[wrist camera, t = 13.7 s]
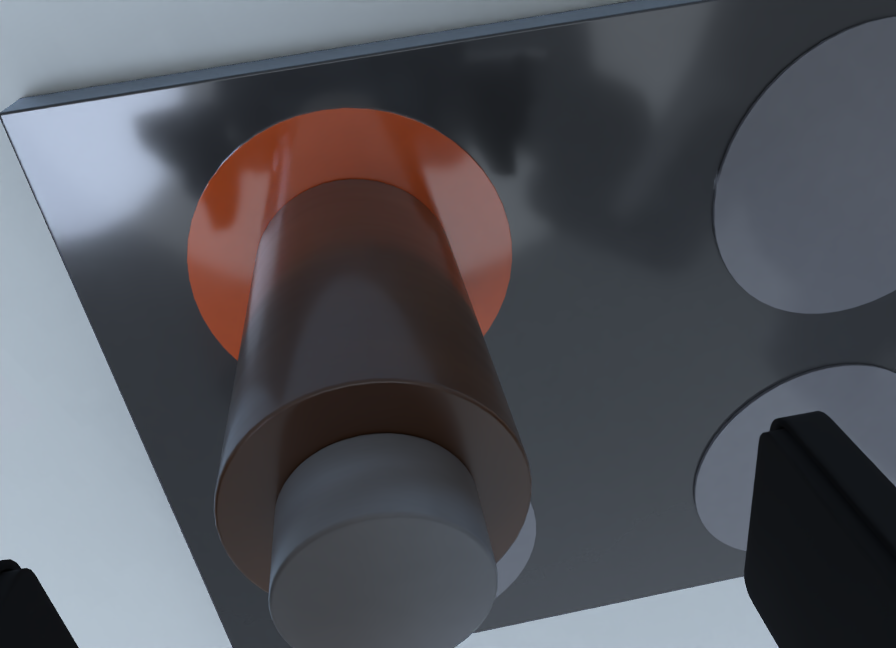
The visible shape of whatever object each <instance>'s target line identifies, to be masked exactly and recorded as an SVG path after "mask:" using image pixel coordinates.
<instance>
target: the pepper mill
mask: <svg viewBox="0 0 896 648" xmlns="http://www.w3.org/2000/svg"><path fill="white" fill-rule="evenodd" d="M531 494H532V477H531V471H530V465H529V461H528V458H527V456H526V453H525V450H524V447H523V445H522V442H521V439H520V436H519V434H518V431H517V428H516V425H515V422H514V420H513V417H512V414H511V411H510V409H509V406H508V403H507V400H506V398H505V395H504V392H503V389H502V387H501V384H500V381H499V378H498V375H497V373H496V370H495V367H494V364H493V362H492V359H491V356H490V353H489V351H488V348H487V345H486V342H485V340H484V337H483V334H482V331H481V328H480V326H479V323H478V320H477V317H476V315H475V312H474V309H473V306H472V304H471V301H470V298H469V295H468V293H467V290H466V287H465V284H464V281H463V279H462V276H461V273H460V270H459V268H458V265H457V262H456V259H455V257H454V254H453V251H452V248H451V246H450V243H449V240H448V237H447V235H446V232H445V231H444V229H443V227H442V225H441V223H440V222H439V221H438V219H437V218H436V216H435V215H434V214H433V213H432V212H431V211H430V210H429V209H428V208H427V207H426V206H425V205H424V204H423V203H422V202H421V201H419V200H418V199H417V198H415V197H414V196H412V195H411V194H409V193H407V192H406V191H404V190H402V189H399V188H397V187H395V186H392V185H389V184H386V183H382V182H379V181H372V180H365V179H346V180H337V181H332V182H328V183H324V184H321V185H318V186H316V187H313V188H310V189H308V190H307V191H305V192H303V193H301V194H299V195H297V196H296V197H295V198H293V199H292V200H290V201H289V202H288V203H287V204H286V205H284V206H283V207H282V208H281V209H280V210H279V211H278V212H277V213H276V215H275V216H274V217H273V218H272V220H271V221H270V222H269V224H268V226H267V228H266V229H265V231H264V233H263V235H262V238H261V240H260V243H259V246H258V250H257V254H256V259H255V265H254V271H253V277H252V282H251V288H250V294H249V299H248V305H247V311H246V317H245V322H244V328H243V334H242V339H241V345H240V351H239V357H238V362H237V368H236V374H235V380H234V385H233V391H232V397H231V402H230V408H229V414H228V420H227V425H226V431H225V437H224V443H223V448H222V454H221V460H220V465H219V471H218V477H217V483H216V488H215V496H214V516H215V525H216V528H217V531H218V534H219V538H220V540H221V543H222V545H223V547H224V548H225V550H226V552H227V554H228V556H229V557H230V559H231V560H232V562H233V563H234V564H235V566H236V567H237V568H238V569H239V570H240V571H241V572H242V573H243V574H244V575H245V576H246V577H247V578H248V579H249V580H250V581H251V582H253V583H254V584H255V585H257V586H258V587H259V588H261V589H262V590H264V591H265V592H267V593H269V597H268V600H269V610H270V614H271V618H272V620H273V622H274V624H275V626H276V628H277V631H278V632H279V633H280V635H281V636H282V637H283V639H284V640H285V641H286V642H287V643H288V644H289V645H290V646H291V647H293V648H454V647H455V646H457V645H458V644H460V643H461V642H463V641H464V640H465V639H466V638H467V637H469V636H470V635H471V634H472V633H473V632H474V631H475V630H476V629H477V628H478V627H479V626H480V625H481V624H482V622H483V621H484V619H485V618H486V617H487V615H488V614H489V612H490V610H491V608H492V606H493V603H494V600H495V597H496V594H497V588H498V571H497V566H496V564H497V563H498V561H499V560H500V559H501V558H502V557H503V556H504V555H505V554H506V552H507V551H508V550H509V549H510V547H511V546H512V544H513V543H514V541H515V540H516V538H517V537H518V535H519V533H520V531H521V529H522V527H523V525H524V522H525V519H526V516H527V513H528V510H529V506H530V500H531Z"/></svg>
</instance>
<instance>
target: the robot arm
mask: <svg viewBox="0 0 896 648" xmlns="http://www.w3.org/2000/svg"><path fill="white" fill-rule="evenodd" d="M744 579H745V584H746V588H747V591H748V594H749V596H750V598H751V600H752V602H753V604H754V606H755V607H756V609H757V611H758V613H759V614H760V616H761V618H762V619H763V621H764V623H765V624H766V626H767V628H768V630H769V631H770V633H771V635H772V636H773V638H774V640H775V642H776V643H777V645H778V647H779V648H896V487H895V486H894V485H893V483H892V482H891V481H890V480H889V479H888V478H887V477H886V476H885V475H884V474H883V473H882V472H881V471H880V470H879V469H878V468H877V466H876V465H875V464H874V463H873V462H872V461H871V460H870V459H869V458H868V457H867V456H866V455H865V454H864V453H863V452H862V451H861V449H860V448H859V447H858V446H857V445H856V444H855V443H854V442H853V441H852V440H851V439H850V438H849V437H848V436H847V435H846V434H845V433H844V431H843V430H842V429H841V428H840V427H839V426H838V425H837V424H836V423H835V422H834V421H833V420H832V419H831V418H830V417H829V416H828V415H827V414H825V413H824V412H821V411H814V412H809V413H803V414H798V415H792V416H787V417H781V418H777V419H774V421H773V422H772V423H771V426H770V430H769V431H768V432H764V433H762V434H761V435H760V438H759V443H758V452H757V461H756V470H755V479H754V488H753V496H752V505H751V514H750V523H749V532H748V541H747V549H746V558H745V567H744ZM0 648H78V646H77V644H76V643H75V641H74V639H73V637H72V636H71V634H70V632H69V631H68V629H67V627H66V626H65V624H64V622H63V621H62V619H61V617H60V616H59V614H58V612H57V611H56V609H55V607H54V606H53V604H52V602H51V601H50V599H49V597H48V596H47V594H46V592H45V591H44V589H43V587H42V585H41V584H40V582H39V580H38V579H37V577H36V575H35V574H34V573H33V572H32V570H30V569H28V568H24V569H21V568H20V566H19V565H18V564H17V563H16V562H15V561H13V560H10V559H9V560H1V561H0Z"/></svg>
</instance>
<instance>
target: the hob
mask: <svg viewBox="0 0 896 648" xmlns="http://www.w3.org/2000/svg"><path fill="white" fill-rule="evenodd" d="M0 119H1V122H2V124H3V126H4V128H5V131H6V133H7V135H8V138H9V140H10V142H11V144H12V147H13V149H14V151H15V153H16V156H17V158H18V160H19V163H20V165H21V167H22V169H23V172H24V174H25V176H26V179H27V181H28V183H29V185H30V188H31V190H32V192H33V194H34V197H35V199H36V201H37V204H38V206H39V208H40V210H41V213H42V215H43V217H44V219H45V222H46V224H47V226H48V229H49V231H50V233H51V235H52V238H53V240H54V242H55V245H56V247H57V249H58V251H59V254H60V256H61V258H62V260H63V263H64V265H65V267H66V270H67V272H68V274H69V276H70V279H71V281H72V283H73V285H74V288H75V290H76V292H77V295H78V297H79V299H80V301H81V304H82V306H83V308H84V310H85V313H86V315H87V317H88V320H89V322H90V324H91V326H92V329H93V331H94V333H95V336H96V338H97V340H98V342H99V345H100V347H101V349H102V351H103V354H104V356H105V358H106V361H107V363H108V365H109V367H110V370H111V372H112V374H113V376H114V379H115V381H116V383H117V386H118V388H119V390H120V392H121V395H122V397H123V399H124V402H125V404H126V406H127V408H128V411H129V413H130V415H131V417H132V420H133V422H134V424H135V427H136V429H137V431H138V433H139V436H140V438H141V440H142V442H143V445H144V447H145V449H146V452H147V454H148V456H149V458H150V461H151V463H152V465H153V468H154V470H155V472H156V474H157V477H158V479H159V481H160V483H161V486H162V488H163V490H164V493H165V495H166V497H167V499H168V502H169V504H170V506H171V508H172V511H173V513H174V515H175V518H176V520H177V522H178V524H179V527H180V529H181V531H182V533H183V536H184V538H185V540H186V543H187V545H188V547H189V549H190V552H191V554H192V556H193V559H194V561H195V563H196V565H197V568H198V570H199V572H200V574H201V577H202V579H203V581H204V584H205V586H206V588H207V590H208V593H209V595H210V597H211V599H212V602H213V604H214V606H215V609H216V611H217V613H218V615H219V618H220V620H221V622H222V625H223V627H224V629H225V631H226V634H227V636H228V638H229V640H230V643H231V645H232V647H233V648H293V647H291V646H290V645H289V644H288V643H287V642H286V641H285V640H284V639H283V637H282V636H281V635H280V633H279V632H278V631H277V628H276V626H275V624H274V622H273V620H272V618H271V614H270V610H269V600H268V597H269V593H267V592H265V591H264V590H262V589H261V588H259V587H258V586H257V585H255V584H254V583H253V582H251V581H250V580H249V579H248V578H247V577H246V576H245V575H244V574H243V573H242V572H241V571H240V570H239V569H238V568H237V567H236V566H235V564H234V563H233V562H232V560H231V559H230V557H229V556H228V554H227V552H226V550H225V548H224V547H223V545H222V543H221V540H220V538H219V534H218V531H217V528H216V525H215V516H214V496H215V488H216V483H217V477H218V471H219V465H220V460H221V454H222V448H223V443H224V437H225V431H226V425H227V420H228V414H229V408H230V402H231V397H232V391H233V385H234V380H235V374H236V368H237V362H238V357H239V351H240V345H241V339H242V334H243V328H244V322H245V317H246V311H247V305H248V299H249V294H250V288H251V282H252V277H253V271H254V265H255V259H256V254H257V250H258V246H259V243H260V240H261V238H262V235H263V233H264V231H265V229H266V228H267V226H268V224H269V222H270V221H271V220H272V218H273V217H274V216H275V215H276V213H277V212H278V211H279V210H280V209H281V208H282V207H283V206H284V205H286V204H287V203H288V202H289V201H290V200H292V199H293V198H295V197H296V196H297V195H299V194H301V193H303V192H305V191H307V190H308V189H310V188H313V187H316V186H318V185H321V184H324V183H328V182H332V181H337V180H346V179H365V180H372V181H379V182H382V183H386V184H389V185H392V186H395V187H397V188H399V189H402V190H404V191H406V192H407V193H409V194H411V195H412V196H414V197H415V198H417V199H418V200H419V201H421V202H422V203H423V204H424V205H425V206H426V207H427V208H428V209H429V210H430V211H431V212H432V213H433V214H434V215H435V216H436V218H437V219H438V221H439V222H440V223H441V225H442V227H443V229H444V231H445V232H446V235H447V237H448V240H449V243H450V246H451V248H452V251H453V254H454V257H455V259H456V262H457V265H458V268H459V270H460V273H461V276H462V279H463V281H464V284H465V287H466V290H467V293H468V295H469V298H470V301H471V304H472V306H473V309H474V312H475V315H476V317H477V320H478V323H479V326H480V328H481V331H482V334H483V337H484V340H485V342H486V345H487V348H488V351H489V353H490V356H491V359H492V362H493V364H494V367H495V370H496V373H497V375H498V378H499V381H500V384H501V387H502V389H503V392H504V395H505V398H506V400H507V403H508V406H509V409H510V411H511V414H512V417H513V420H514V422H515V425H516V428H517V431H518V434H519V436H520V439H521V442H522V445H523V447H524V450H525V453H526V456H527V458H528V461H529V465H530V471H531V477H532V494H531V500H530V506H529V510H528V513H527V516H526V519H525V522H524V525H523V527H522V529H521V531H520V533H519V535H518V537H517V538H516V540H515V541H514V543H513V544H512V546H511V547H510V549H509V550H508V551H507V552H506V554H505V555H504V556H503V557H502V558H501V559H500V560H499V561H498V563H497V564H496V566H497V571H498V588H497V594H496V597H495V600H494V603H493V606H492V608H491V610H490V612H489V614H488V615H487V617H486V618H485V619H484V621H483V622H482V624H481V625H480V626H479V627H478V628H477V629H476V630H475V631H474V632H473V633H477V632H481V631H486V630H491V629H496V628H500V627H505V626H510V625H515V624H519V623H524V622H529V621H534V620H538V619H543V618H548V617H553V616H558V615H562V614H567V613H572V612H577V611H581V610H586V609H591V608H596V607H600V606H605V605H610V604H615V603H619V602H624V601H629V600H634V599H638V598H643V597H648V596H653V595H657V594H662V593H667V592H672V591H676V590H681V589H686V588H691V587H695V586H700V585H705V584H710V583H714V582H719V581H724V580H729V579H733V578H738V577H743V576H744V567H745V558H746V549H747V541H748V532H749V523H750V514H751V505H752V496H753V488H754V479H755V470H756V461H757V452H758V443H759V438H760V435H761V434H762V433H764V432H768V431H769V430H770V426H771V423H772V422H773V421H774V419H777V418H781V417H787V416H792V415H798V414H803V413H809V412H814V411H821V412H824V413H825V414H827V415H828V416H829V417H830V418H831V419H832V420H833V421H834V422H835V423H836V424H837V425H838V426H839V427H840V428H841V429H842V430H843V431H844V433H845V434H846V435H847V436H848V437H849V438H850V439H851V440H852V441H853V442H854V443H855V444H856V445H857V446H858V447H859V448H860V449H861V451H862V452H863V453H864V454H865V455H866V456H867V457H868V458H869V459H870V460H871V461H872V462H873V463H874V464H875V465H876V466H877V468H878V469H879V470H880V471H881V472H882V473H883V474H884V475H885V476H886V477H887V478H888V479H889V480H890V481H891V482H892V483H893V485H894V486H895V487H896V0H636V1H630V2H623V3H617V4H611V5H604V6H598V7H592V8H585V9H579V10H573V11H567V12H560V13H554V14H548V15H541V16H535V17H529V18H523V19H516V20H510V21H504V22H497V23H491V24H485V25H478V26H472V27H466V28H460V29H453V30H447V31H441V32H434V33H428V34H422V35H416V36H409V37H403V38H397V39H390V40H384V41H378V42H371V43H365V44H359V45H353V46H346V47H340V48H334V49H327V50H321V51H315V52H309V53H302V54H296V55H290V56H283V57H277V58H271V59H265V60H258V61H252V62H246V63H239V64H233V65H227V66H220V67H214V68H208V69H202V70H195V71H189V72H183V73H176V74H170V75H164V76H158V77H151V78H145V79H139V80H132V81H126V82H120V83H113V84H107V85H101V86H95V87H88V88H82V89H76V90H69V91H63V92H57V93H51V94H44V95H38V96H32V97H25V98H20V99H19V100H17V101H16V102H14V103H13V104H12V105H10V106H9V107H7V108H6V109H4V110H3V111H2V112H0Z"/></svg>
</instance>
